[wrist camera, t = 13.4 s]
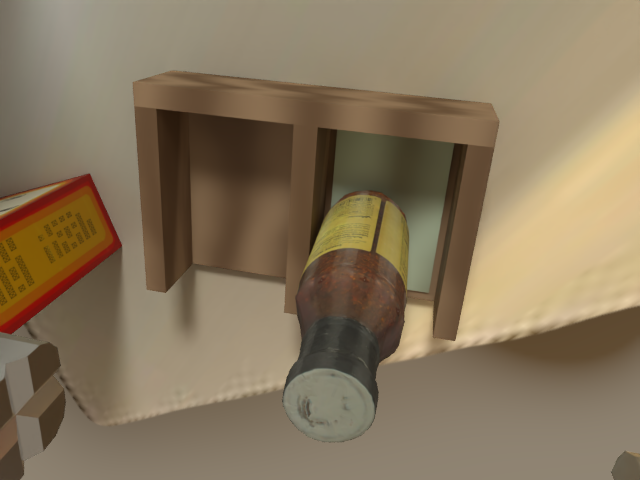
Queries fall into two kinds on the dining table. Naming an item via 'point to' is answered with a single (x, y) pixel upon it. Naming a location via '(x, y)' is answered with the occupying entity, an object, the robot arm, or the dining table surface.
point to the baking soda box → (49, 245)
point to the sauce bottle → (348, 316)
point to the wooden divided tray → (306, 177)
